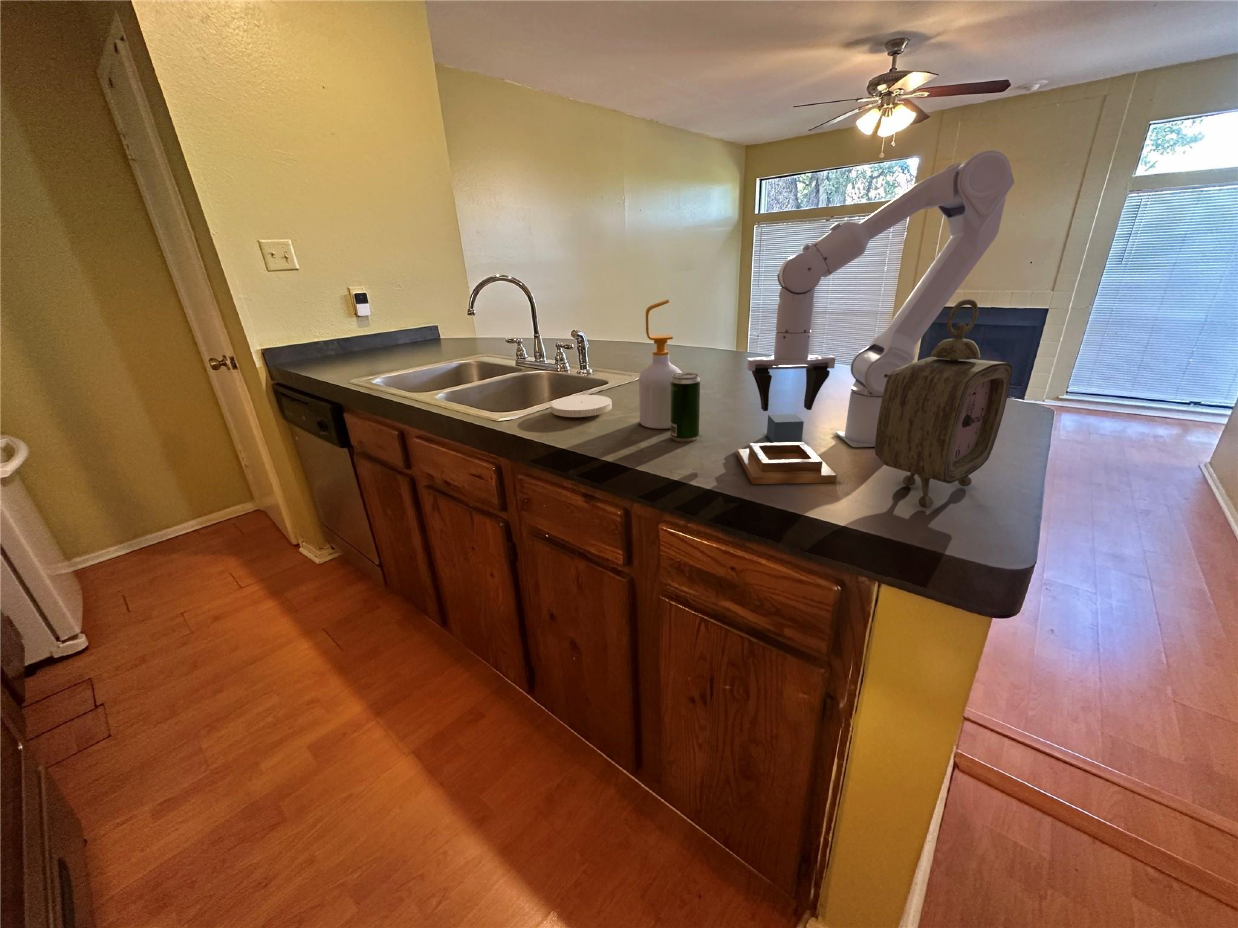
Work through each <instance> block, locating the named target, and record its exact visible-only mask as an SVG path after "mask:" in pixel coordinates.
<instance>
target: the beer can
mask: <svg viewBox="0 0 1238 928" xmlns="http://www.w3.org/2000/svg"><path fill="white" fill-rule="evenodd" d="M700 402H701V379H700V374H699V373H696V372H682V373H676V374H673V375H672V379H671V428H670V436H671V439H672V440H673V441H675V442H678V443H679V442H681V443H689V442H695V441H696V440H698V438H699V436H700V411H701V410H700V408H701V407H700V405H701V403H700Z"/></svg>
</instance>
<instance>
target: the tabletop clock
mask: <svg viewBox="0 0 1238 928" xmlns="http://www.w3.org/2000/svg"><path fill="white" fill-rule="evenodd" d="M964 306H970V307H971V309H972V318H971V322H970V323H969V324H968V325H966V323H962V322H960V323H958V324H956V326H955V329H954V328H953V327H952V325H953V324H952V323H953V319H954V317H955V316H956V313H957V312H958V311H959V310H960V309H961V308H962V307H964ZM978 315H979V305H978V303H977V302H976V300H975V299H972V298H965V299H962V300H960V301H958V302H957V303H956V304H955V305H954V306H953V307H952V309H951V311H950V312H949V315H948V316H947V321H946V331H947V333H948V334H949V335H950V336H951V337H953V338H946V339H943V340H942V341H941V342H939V343H938V344H937V345H936V346H935V347H934V349H933V350H932V352H931V353H930V355H929V357H925V358H923V359H919V360H917V361H913V362H912V363H911V364H908V365H906V366H903V367H900V368H898V369H896V370H894V371H893V372H892V373H891V374H890V375H889V376H888V378H887V381H886V384H885V388H884V392H883V396H882V401H881V406H880V411H879V417H878V424H877V431H876V439H875V447H874V454H875V456H876V458H877V459H878V460H879V461H880V462H881V463H882V464H883V465H884V466H886V467H889V468H893V469H895V470H899V471H903V472H906V473H910V474H907V475H905V476H904V477H903V478H902V483H903V485H904V486H906V487H912V486H914V485H916V483H917V478H916V477H915V476H916V475H917V477H918V478H919V480H920V482H921V488H922V490H921V491H922V495H921V496H920V497H919V498H918V501H917V502H918V505H919V506H920V507H921V508H923V509H930V508H931V507H932V506H933V505H934V500H933V497H931V496H930V495H929V490H930V481H931V480H934V481H937V482H940V483H944V484H948V485H949V484H953V483H955V482H957V483H958V485H959V486H961V487H968V486H971V484H972V483H973V479H972V477H971V476H970V475H972V474H973V473H975V472H976V471H978V470H979V469H981V468H982V467H983V466H984V465H985V463H986V462H987V461H988V460H989V459H990V456H991V454H992V451H993V449H994V446H995V442H996V440H997V437H998V435H999V431H1000V427H1001V423H1002V420H1003V417H1004V414H1005V409H1006V405H1007V400H1008V397H1009V392H1010V386H1011V381H1012V378H1013V377H1012V375H1013V365H1012V364H1011V363H1010V362H1004V361H995V360H986V359H985V360H984V359H980V358H981V353H980V348H979V346H978V345H977V344H976V342H975V341H973V340H972V339H968V338H965V335H966V334H968V333H970V332H971V330H973V328H974V327H975V324H976V322H977V319H978Z"/></svg>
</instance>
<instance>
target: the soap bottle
mask: <svg viewBox="0 0 1238 928" xmlns="http://www.w3.org/2000/svg"><path fill="white" fill-rule="evenodd" d="M670 302H671V301H670V300H669V298H668V299H664V300H661V301H659V302H656V303H654V304H651V305H649V306H648V307H647V308H646V309H645V335H646V337H647V339H649V340H650V341H653V344H654V345H656V350H653V351H652V363H651V364H650V365H648V366H646V367H645V368H644V369H643V370H642V371H641V372H640V373H639V377H638V399H639V400H638V401H639V402H638V404H639V423H640V425H641V426H643V427H646V428H648V429H654V430H668V429H671V379H672V375H673V374H676V373H683V371H681V370H680V368H678V367H677V366H676V365H674V364H672V363H671V362H670V351H669V350H666V344H667V345H668V343H669V340H673V339H674V336H673V335H672V334H660V335H658V334H657V335H651V334H650V332H649V331H650V330H649V314H650V312H651V311H652V310H654V309H657V308H659V307H661V306H664V305H666V304H669V303H670Z"/></svg>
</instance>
